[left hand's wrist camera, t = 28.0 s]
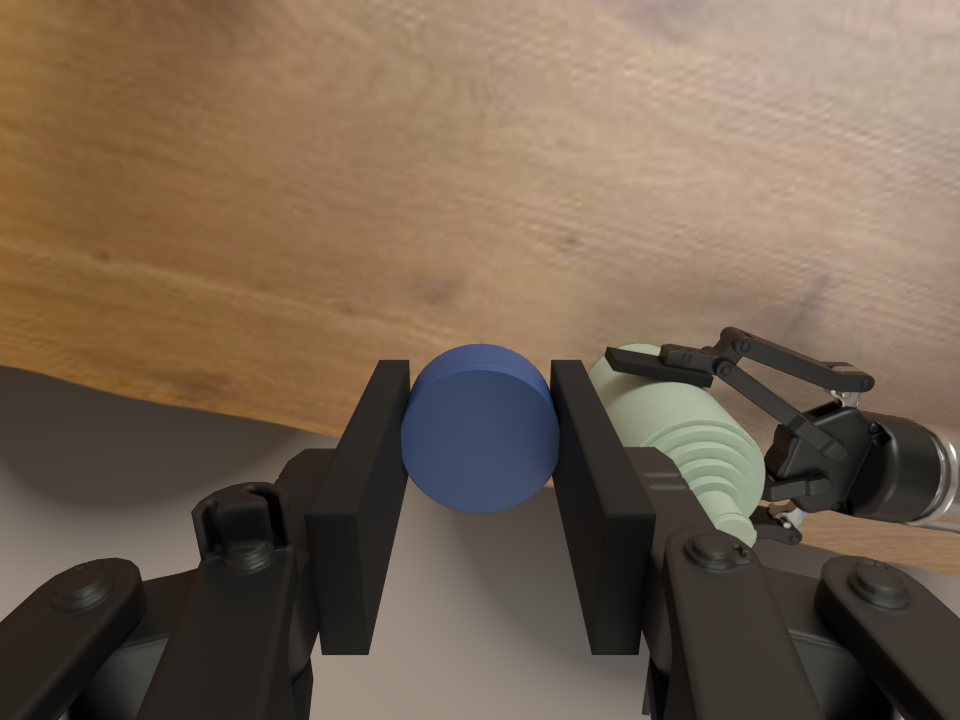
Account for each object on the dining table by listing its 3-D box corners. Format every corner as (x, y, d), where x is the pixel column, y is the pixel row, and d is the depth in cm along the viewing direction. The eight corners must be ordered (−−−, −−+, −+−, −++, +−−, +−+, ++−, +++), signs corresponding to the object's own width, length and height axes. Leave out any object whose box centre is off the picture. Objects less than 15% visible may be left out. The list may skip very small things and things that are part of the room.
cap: (537, 482, 15) (543, 523, 14) (400, 463, 15) (390, 502, 13) (566, 355, 14) (578, 382, 12) (418, 332, 14) (408, 356, 12)
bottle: (588, 444, 47) (652, 615, 29) (577, 352, 44) (640, 481, 27) (688, 429, 46) (813, 593, 29) (683, 335, 43) (817, 454, 26)
